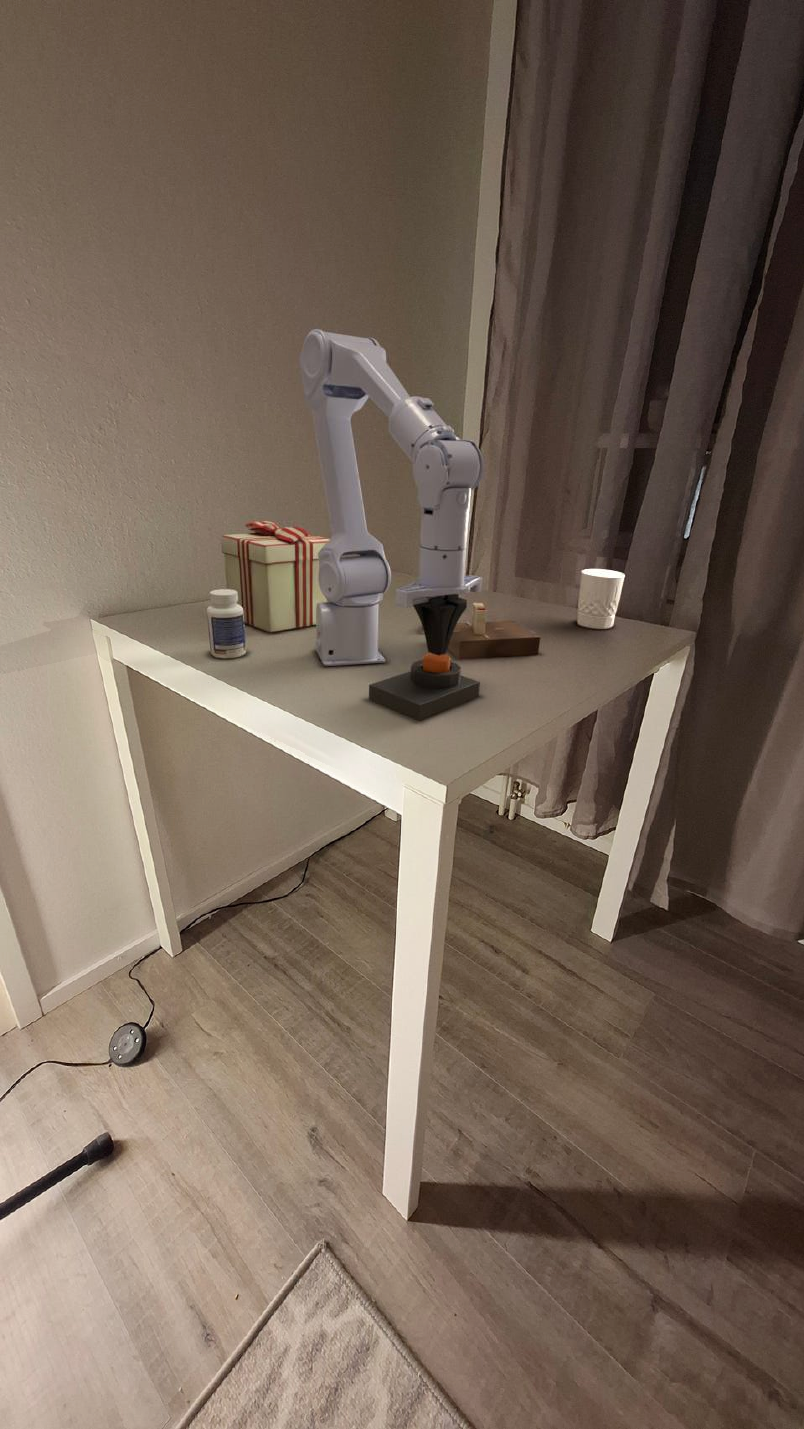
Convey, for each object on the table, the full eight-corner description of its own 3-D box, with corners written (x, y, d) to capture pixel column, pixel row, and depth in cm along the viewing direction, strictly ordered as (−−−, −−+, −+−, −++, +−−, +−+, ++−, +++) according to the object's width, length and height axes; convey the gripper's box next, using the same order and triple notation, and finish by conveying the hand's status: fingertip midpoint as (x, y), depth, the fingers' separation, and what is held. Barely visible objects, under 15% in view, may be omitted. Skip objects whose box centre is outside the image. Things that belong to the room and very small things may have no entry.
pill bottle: (253, 654, 96) (249, 592, 92) (223, 661, 92) (217, 597, 89) (234, 646, 99) (229, 586, 96) (204, 653, 96) (197, 591, 92)
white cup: (582, 617, 125) (590, 567, 121) (621, 624, 121) (630, 572, 116) (567, 624, 119) (575, 572, 115) (607, 632, 115) (617, 579, 111)
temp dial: (470, 626, 104) (473, 601, 102) (480, 626, 104) (482, 601, 103) (474, 634, 100) (476, 608, 98) (484, 634, 100) (486, 609, 98)
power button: (437, 676, 80) (438, 663, 79) (416, 669, 82) (417, 656, 81) (454, 670, 82) (455, 657, 81) (434, 663, 84) (435, 651, 83)
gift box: (352, 617, 118) (352, 524, 111) (274, 636, 105) (269, 532, 98) (294, 601, 128) (291, 515, 121) (217, 617, 115) (209, 521, 108)
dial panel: (458, 659, 97) (460, 640, 96) (438, 640, 106) (439, 623, 105) (538, 654, 101) (540, 635, 100) (512, 636, 110) (513, 619, 109)
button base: (418, 721, 75) (420, 691, 74) (368, 700, 81) (368, 671, 79) (478, 696, 83) (481, 669, 82) (429, 679, 89) (430, 652, 87)
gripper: (428, 557, 68) (422, 673, 73) (504, 546, 78) (494, 649, 83) (383, 548, 72) (381, 658, 78) (461, 539, 82) (454, 637, 88)
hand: (436, 652), depth 81 cm, fingers closed
